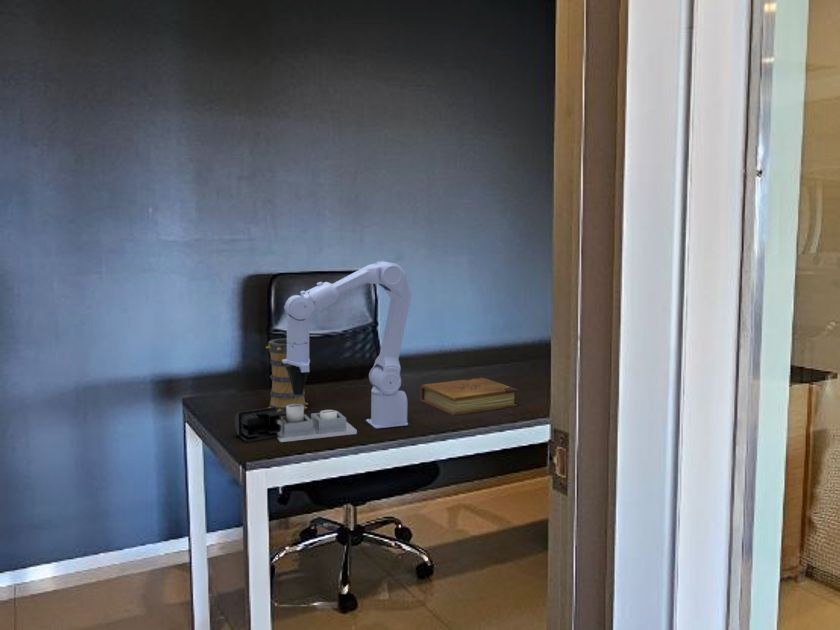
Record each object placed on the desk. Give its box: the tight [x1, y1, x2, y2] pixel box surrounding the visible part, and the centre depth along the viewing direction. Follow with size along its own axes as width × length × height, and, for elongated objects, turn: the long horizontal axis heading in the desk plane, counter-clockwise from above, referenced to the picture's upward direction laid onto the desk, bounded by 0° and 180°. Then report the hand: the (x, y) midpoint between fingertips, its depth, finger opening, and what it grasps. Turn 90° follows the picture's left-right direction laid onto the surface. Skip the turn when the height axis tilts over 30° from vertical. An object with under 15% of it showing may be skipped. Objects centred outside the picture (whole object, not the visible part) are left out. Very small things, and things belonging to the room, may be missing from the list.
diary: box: [419, 377, 519, 416], centre depth 224 cm, size 23×19×6 cm
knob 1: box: [285, 404, 305, 423], centre depth 191 cm, size 4×4×4 cm
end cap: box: [234, 406, 282, 443], centre depth 187 cm, size 10×7×7 cm
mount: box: [275, 410, 358, 443], centre depth 193 cm, size 20×14×4 cm
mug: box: [265, 337, 309, 415], centre depth 214 cm, size 13×17×20 cm
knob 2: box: [319, 409, 338, 419], centre depth 195 cm, size 4×4×4 cm
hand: (297, 394), depth 191 cm, fingers closed
